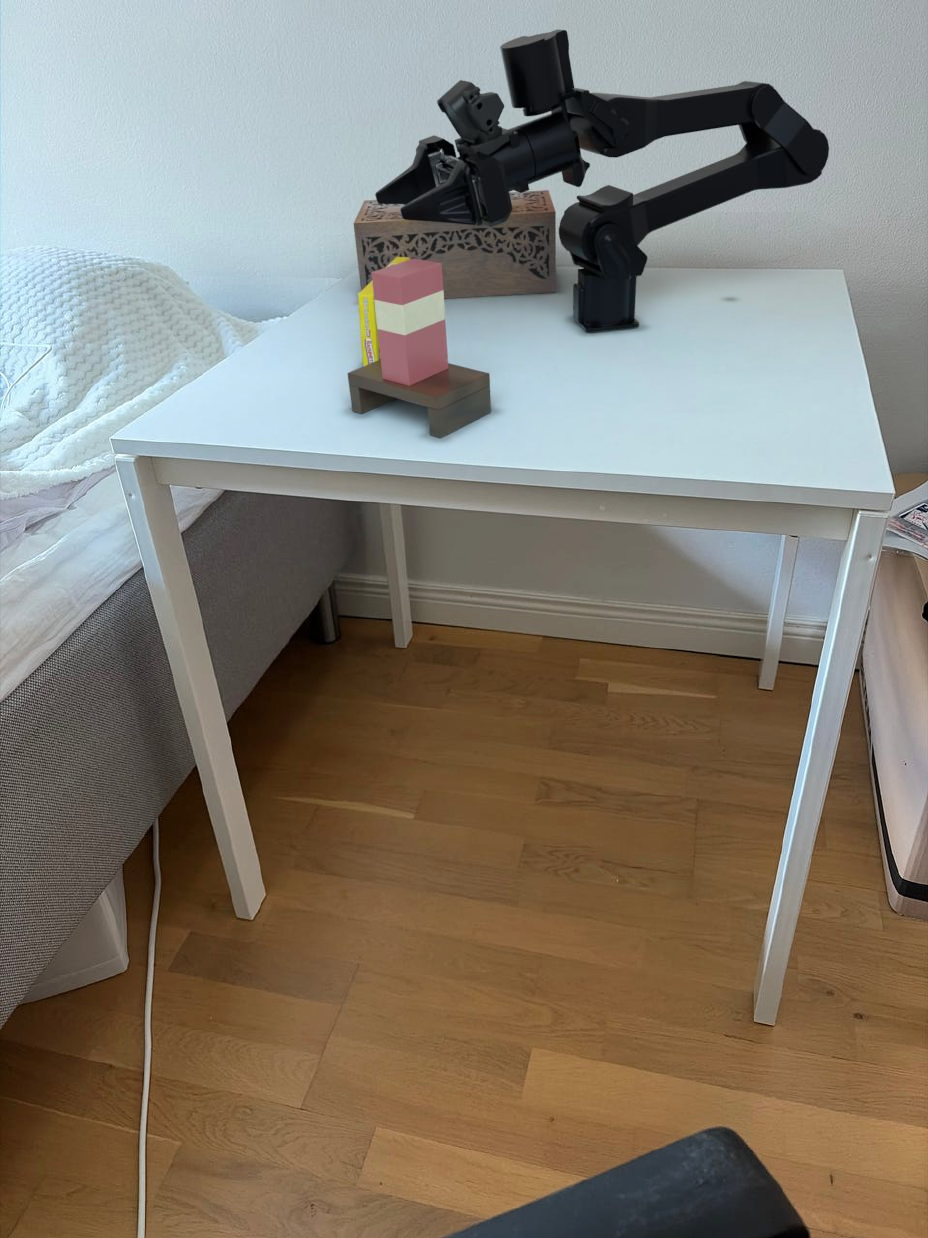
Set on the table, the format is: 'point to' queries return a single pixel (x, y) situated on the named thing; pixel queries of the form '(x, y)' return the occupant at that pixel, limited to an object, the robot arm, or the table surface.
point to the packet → (410, 320)
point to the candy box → (370, 321)
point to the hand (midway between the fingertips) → (388, 205)
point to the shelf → (427, 395)
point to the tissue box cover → (467, 247)
